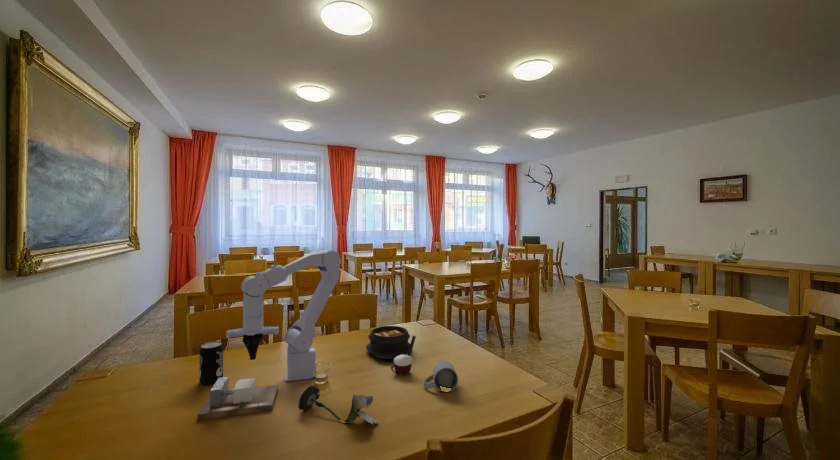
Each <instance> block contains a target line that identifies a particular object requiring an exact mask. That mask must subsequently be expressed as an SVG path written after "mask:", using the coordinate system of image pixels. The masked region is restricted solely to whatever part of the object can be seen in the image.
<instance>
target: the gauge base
mask: <svg viewBox="0 0 840 460" xmlns="http://www.w3.org/2000/svg"><path fill="white" fill-rule="evenodd" d="M278 389H279V387H278V385H277V384H276V385H267V386H258V387H257V386H256V387H255V394H254V396H253V399H252V401H251V402H245V403H243V405H242V407H240V408H239V406H240V404H241V403H237V404H233V395H227V397H226V399H225V401H224V403H223V404H222V406H221V408H217V409H210V395H209V396H208V398H207V399H206V401H205V402H204V404H203V406H202V407H201V409H200V410H199V411H198V413H197V421H202V420H211V419H216V418H225V417H233V416H238V415H239V416H240V415H247V414H254V413H255V414H256V413H261V412H262V413H263V412H264V413H265V412H268V411H269V412H270V411H271V412H272V411H273V409H274V406H275V401H276V398H277V394H278Z"/></svg>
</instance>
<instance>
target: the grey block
mask: <svg viewBox="0 0 840 460" xmlns="http://www.w3.org/2000/svg"><path fill="white" fill-rule="evenodd" d="M226 390H229V376H223V377H222V378H218V380H217V381H216V383H215V384H213V386H212V387H211V389H210V390H209V396H210V409H217V408H221V406H222V404H223V403H224V401H225V399H226V397H227V395H226Z"/></svg>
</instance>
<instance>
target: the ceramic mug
mask: <svg viewBox="0 0 840 460" xmlns="http://www.w3.org/2000/svg"><path fill="white" fill-rule="evenodd" d="M432 370H433V371H432V374H430V375H429V376H427V377H426V378H425V379H424V380H423V382H422V384H423V387H424V386H425V387H426V388H428V389H429V390H430V389H434V388H435V389H436V390H437V391H438V392H440V391H441V388H440V386H442V387H446V388H451V392H453V391H454V390H455V389H457V387H458V384H459V375H458V373H457V371H456V369H455V367H454V365H453V364H452V363H451V362H450V361H447V360H441V361H438V362H437V363H436V364H435V366H434V367H433V369H432ZM427 382H428V383H427ZM425 387H424V388H425ZM426 388H425V389H426Z"/></svg>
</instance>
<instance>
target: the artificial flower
mask: <svg viewBox="0 0 840 460" xmlns="http://www.w3.org/2000/svg"><path fill="white" fill-rule="evenodd" d="M320 392H321V391H320V389H319V387H317V386H315V385H310V386H308V387H307V388H306V389H305V390H304V391H303V392H302V394H301V396H300V398H299V401H298V405H297V407H298V408H299V411H304V412H307V411H308V410H310V409H311V408H312V406H313V405H314V404H315V406H317V407H318V408H324V409H325V410H327V411H328V412H329V413H330V414H331V415H332V416H334V418H336V420H338V421H339V420H342V419H341V418H340V417H339V416H338V415H337V414H336V413H335V412H334V411H332V409H330V408H329V407H327V406H326V405H325V404H323V403H322V402H319V401H318V400H319V398H320ZM373 402H374V396H373V395H368V396H367V395H365V394H359V395H357V394H353V395H352V399H351V407H350V411H349V414H348V416H347V418H346V419H345V420H343V421H344V422H346V423H345V424H349V423H354V422H355V420H356V419H357V418H358V417H360V418H361V419H363V420H364V421H365V422H368V423H370V424H372V425H374V424H376V425H378V424H377V423H376V421H375V420H374V419H375V418H374V417H373V416H372V415H370V414H368V413H367V412H366V411H363V410H362V409H366V408H369V407H370V406H371V405H372V403H373ZM347 422H348V423H347Z"/></svg>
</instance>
